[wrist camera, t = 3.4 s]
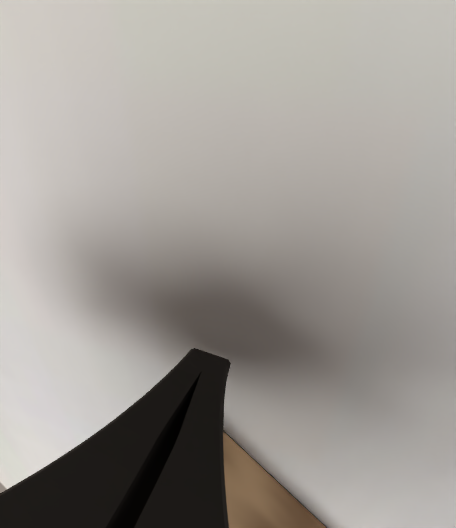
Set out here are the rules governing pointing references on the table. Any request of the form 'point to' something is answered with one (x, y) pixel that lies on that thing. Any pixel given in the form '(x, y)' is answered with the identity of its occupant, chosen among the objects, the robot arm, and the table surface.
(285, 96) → the table surface
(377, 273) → the table surface
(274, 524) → the wooden bar grey ends
